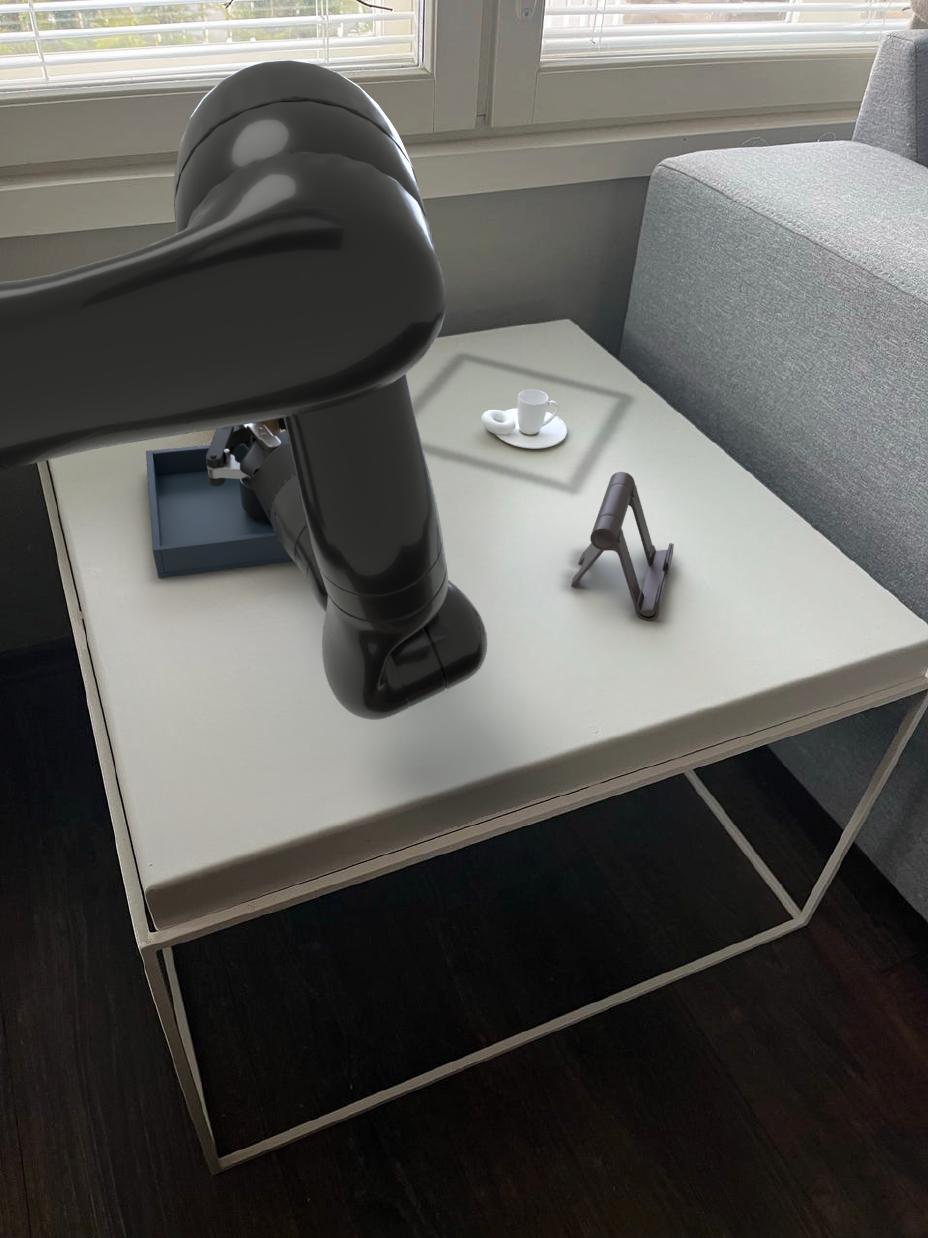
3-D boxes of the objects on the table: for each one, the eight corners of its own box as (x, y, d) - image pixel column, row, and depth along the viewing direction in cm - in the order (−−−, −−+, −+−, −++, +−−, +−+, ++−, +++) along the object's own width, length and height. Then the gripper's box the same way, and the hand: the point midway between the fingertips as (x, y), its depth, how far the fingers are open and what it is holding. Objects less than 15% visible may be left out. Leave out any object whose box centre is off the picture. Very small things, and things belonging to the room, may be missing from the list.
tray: (158, 579, 82) (152, 550, 80) (151, 478, 93) (145, 450, 90) (381, 551, 86) (381, 523, 84) (350, 458, 97) (349, 431, 95)
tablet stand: (656, 625, 81) (676, 546, 76) (564, 603, 83) (578, 524, 77) (670, 562, 88) (690, 486, 82) (585, 543, 89) (599, 466, 83)
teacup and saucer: (472, 438, 101) (475, 403, 98) (500, 403, 107) (503, 369, 104) (552, 459, 99) (557, 425, 96) (576, 423, 104) (581, 389, 102)
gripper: (405, 450, 74) (328, 348, 85) (224, 487, 69) (167, 374, 80) (404, 529, 79) (331, 423, 90) (235, 569, 74) (180, 452, 85)
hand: (254, 400), depth 85 cm, fingers closed on brush, 2 cm apart
